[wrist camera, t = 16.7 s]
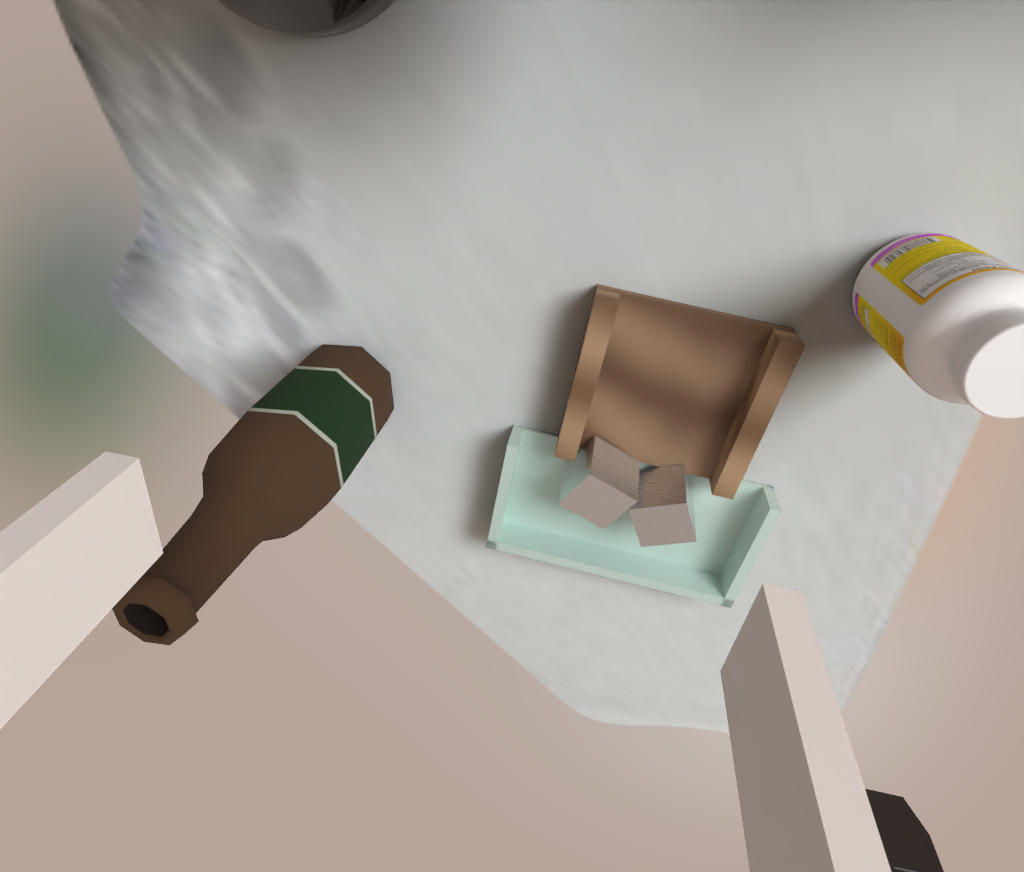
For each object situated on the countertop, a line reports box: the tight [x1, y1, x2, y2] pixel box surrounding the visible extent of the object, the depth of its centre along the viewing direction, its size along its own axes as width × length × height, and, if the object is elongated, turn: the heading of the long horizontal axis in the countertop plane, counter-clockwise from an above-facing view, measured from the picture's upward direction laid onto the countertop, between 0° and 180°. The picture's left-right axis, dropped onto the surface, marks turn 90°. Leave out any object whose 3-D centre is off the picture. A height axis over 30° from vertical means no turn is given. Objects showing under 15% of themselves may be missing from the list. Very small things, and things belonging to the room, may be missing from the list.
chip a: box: [559, 436, 640, 529], centre depth 45 cm, size 4×4×4 cm
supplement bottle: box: [852, 232, 1024, 418], centre depth 32 cm, size 7×7×13 cm
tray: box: [486, 425, 782, 608], centre depth 48 cm, size 10×20×3 cm, turn 80°
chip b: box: [629, 464, 696, 547], centre depth 45 cm, size 4×4×4 cm
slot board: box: [554, 284, 805, 500], centre depth 42 cm, size 12×13×3 cm
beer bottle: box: [112, 345, 394, 645], centre depth 38 cm, size 8×8×24 cm
